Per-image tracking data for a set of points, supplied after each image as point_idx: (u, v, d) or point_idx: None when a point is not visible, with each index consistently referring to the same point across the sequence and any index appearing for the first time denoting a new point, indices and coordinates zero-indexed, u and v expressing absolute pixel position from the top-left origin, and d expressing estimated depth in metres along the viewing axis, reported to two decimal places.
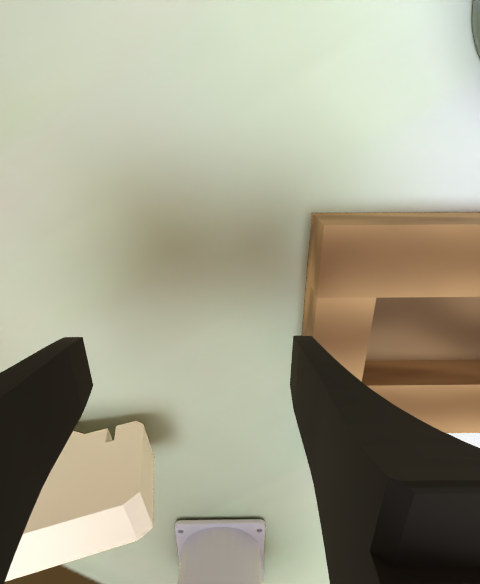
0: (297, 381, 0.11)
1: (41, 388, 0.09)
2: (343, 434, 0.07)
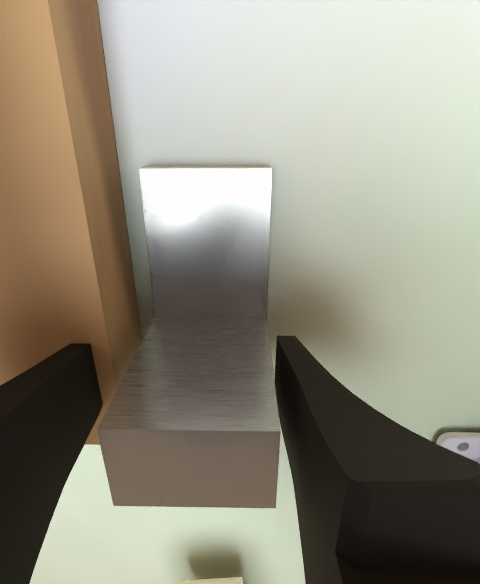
0: (279, 381, 0.11)
1: (62, 388, 0.09)
2: (315, 434, 0.07)
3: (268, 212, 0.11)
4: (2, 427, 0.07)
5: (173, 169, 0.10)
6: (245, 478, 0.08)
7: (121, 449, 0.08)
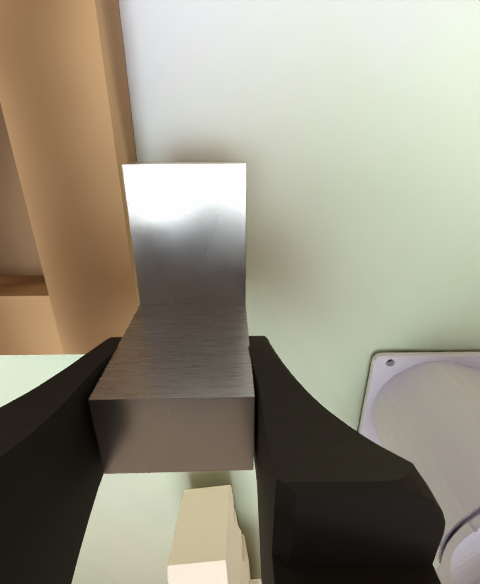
0: None
1: None
2: (264, 434, 0.07)
3: (243, 204, 0.12)
4: (49, 426, 0.07)
5: (154, 165, 0.11)
6: (225, 442, 0.09)
7: (111, 418, 0.09)
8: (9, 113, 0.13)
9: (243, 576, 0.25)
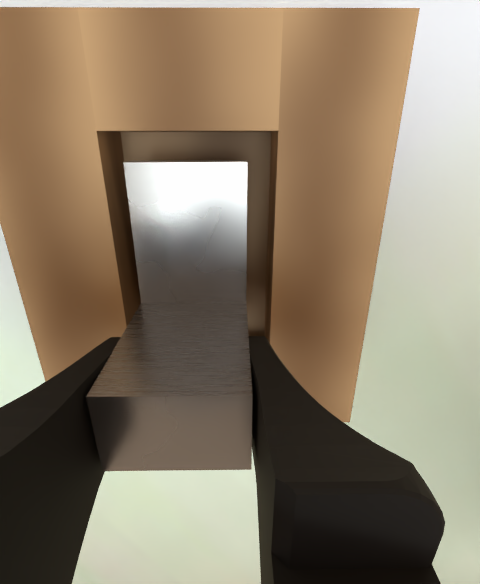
0: None
1: None
2: (263, 434, 0.07)
3: (245, 203, 0.12)
4: (50, 426, 0.07)
5: (155, 163, 0.11)
6: (222, 441, 0.09)
7: (108, 416, 0.09)
8: (282, 192, 0.12)
9: None
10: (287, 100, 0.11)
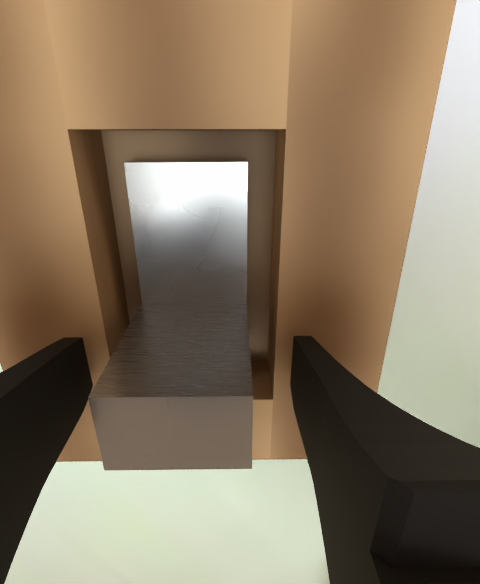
0: (297, 381, 0.11)
1: (41, 388, 0.09)
2: (343, 433, 0.07)
3: (245, 203, 0.12)
4: None
5: (156, 163, 0.11)
6: (223, 441, 0.09)
7: (110, 416, 0.09)
8: (290, 202, 0.10)
9: None
10: (296, 92, 0.09)
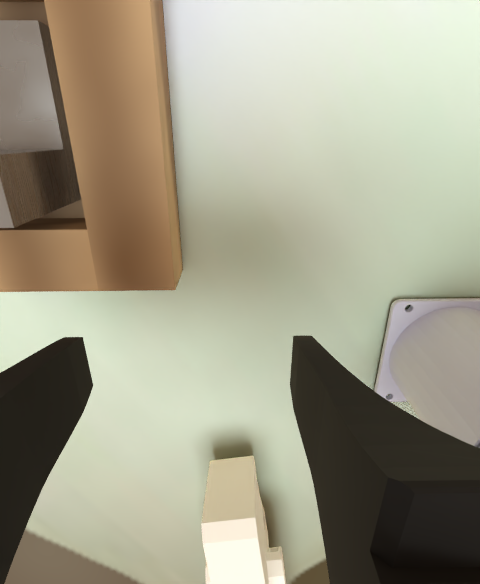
0: (297, 381, 0.11)
1: (41, 388, 0.09)
2: (343, 434, 0.07)
3: (44, 57, 0.15)
4: None
5: None
6: None
7: None
8: (57, 42, 0.14)
9: (265, 542, 0.27)
10: None
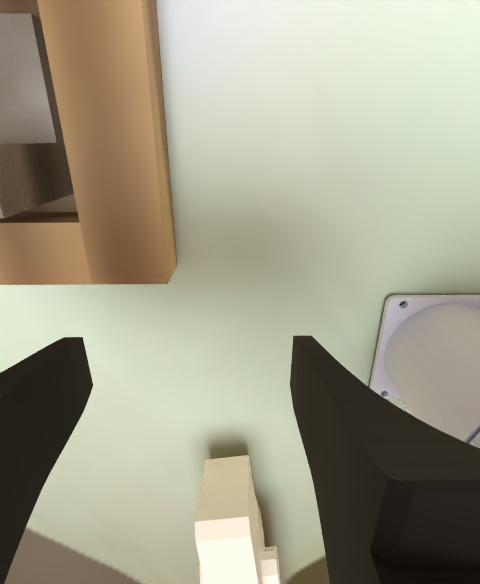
0: (297, 381, 0.11)
1: (41, 388, 0.09)
2: (342, 434, 0.07)
3: (37, 50, 0.15)
4: None
5: None
6: None
7: None
8: (49, 34, 0.14)
9: (260, 542, 0.27)
10: None
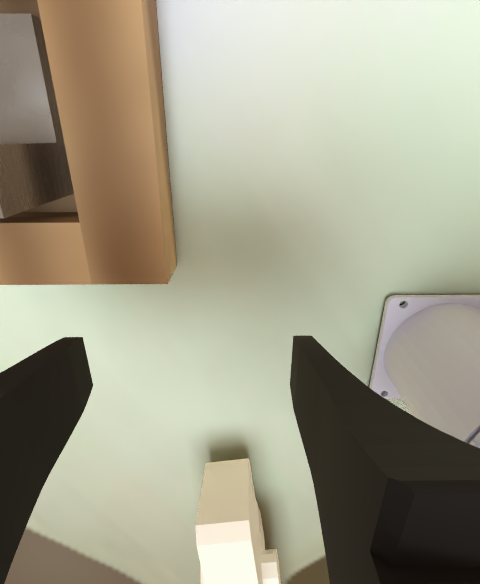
0: (297, 381, 0.11)
1: (41, 388, 0.09)
2: (342, 434, 0.07)
3: (37, 50, 0.15)
4: None
5: None
6: None
7: None
8: (49, 34, 0.14)
9: (261, 545, 0.27)
10: None
